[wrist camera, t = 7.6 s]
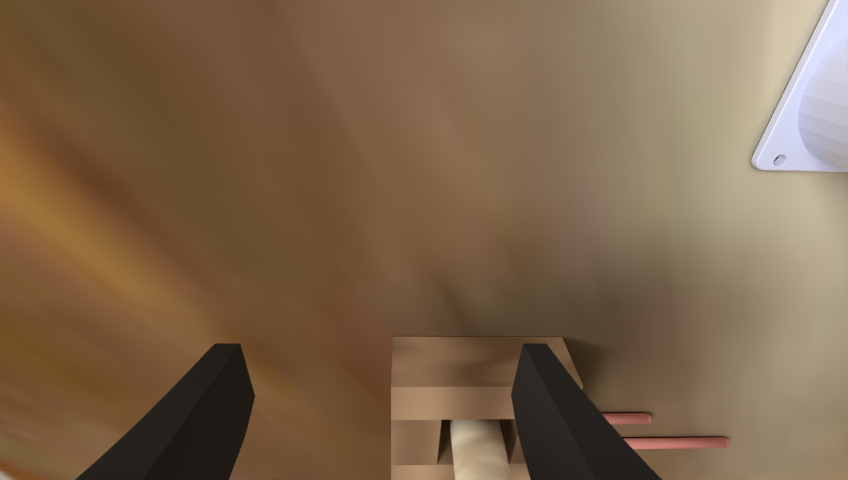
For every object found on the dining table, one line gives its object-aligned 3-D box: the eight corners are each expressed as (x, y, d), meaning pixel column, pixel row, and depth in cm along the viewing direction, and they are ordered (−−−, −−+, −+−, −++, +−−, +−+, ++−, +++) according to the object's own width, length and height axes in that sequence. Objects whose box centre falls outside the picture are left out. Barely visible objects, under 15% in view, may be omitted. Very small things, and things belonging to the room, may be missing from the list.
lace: (745, 410, 29) (752, 419, 28) (723, 440, 31) (729, 449, 30) (526, 411, 28) (529, 421, 28) (517, 443, 30) (520, 452, 30)
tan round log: (494, 374, 26) (525, 513, 19) (491, 404, 28) (518, 542, 21) (446, 376, 26) (460, 516, 19) (446, 406, 28) (459, 545, 21)
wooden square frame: (562, 336, 24) (583, 386, 21) (531, 436, 30) (545, 486, 27) (392, 336, 24) (391, 387, 21) (392, 437, 29) (391, 489, 26)
